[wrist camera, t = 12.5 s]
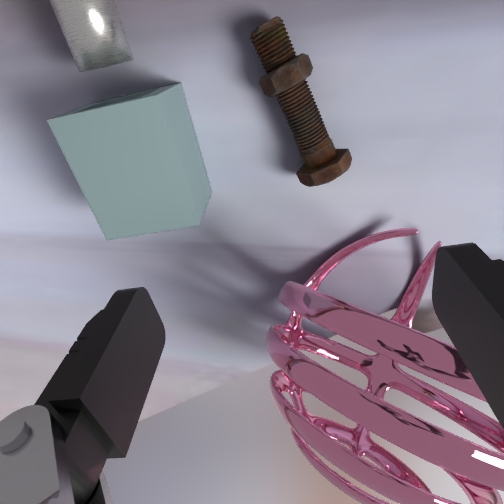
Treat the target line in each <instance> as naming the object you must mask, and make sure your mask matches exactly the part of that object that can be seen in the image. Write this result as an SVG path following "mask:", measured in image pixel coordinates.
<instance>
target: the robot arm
mask: <svg viewBox="0 0 504 504" xmlns="http://www.w3.org/2000/svg"><path fill="white" fill-rule="evenodd" d="M432 302H433V306H434V310H435V313H436V315H437V317H438V319H439V321H440V322H441V324H442V326H443V327H444V329H445V331H446V332H447V334H448V336H449V337H450V339H451V341H452V342H453V344H454V346H455V348H456V350H457V351H458V353H459V355H460V356H461V358H462V360H463V361H464V363H465V365H466V366H467V368H468V370H469V372H470V373H471V375H472V377H473V378H474V380H475V382H476V383H477V385H478V387H479V389H480V390H481V392H482V394H483V395H484V397H485V399H486V400H487V402H488V404H489V405H490V407H491V409H492V410H493V412H494V414H495V416H496V417H497V419H498V420H499V423H500V424H501V426H502V428H503V429H504V261H503V260H501V259H498V260H491V259H490V258H489V257H488V256H487V255H486V254H485V253H484V252H483V251H482V250H481V249H480V248H479V247H478V246H477V245H476V244H474V243H465V244H458V245H450V246H443V247H439V248H438V249H437V252H436V258H435V268H434V278H433V288H432ZM164 345H165V329H164V325H163V323H162V321H161V318H160V316H159V314H158V312H157V310H156V308H155V306H154V304H153V301H152V299H151V297H150V295H149V293H148V291H147V290H146V289H145V288H144V287H139V288H132V289H124V290H118V291H116V292H115V293H114V294H113V296H112V297H111V299H110V301H109V302H108V304H107V305H106V307H105V309H104V310H101V311H100V312H99V313H97V314H96V315H95V316H94V317H93V318H92V319H91V320H90V321H89V322H88V323H87V324H86V325H85V327H84V328H83V330H82V332H81V333H80V335H79V336H78V338H77V341H75V342H74V344H73V346H72V347H71V349H70V350H69V354H67V355H66V356H65V358H64V359H63V361H62V363H61V364H60V366H59V367H58V369H57V370H56V372H55V373H54V375H53V377H52V378H51V380H50V381H49V383H48V384H47V386H46V387H45V389H44V391H43V392H42V394H41V395H40V397H39V398H38V400H37V401H36V403H35V404H34V405H31V406H27V407H24V408H21V409H19V410H17V411H15V412H13V413H12V414H10V415H9V416H7V417H6V418H4V419H3V420H2V421H1V422H0V504H113V503H112V499H111V495H110V491H109V487H108V483H107V480H106V477H105V475H104V473H103V472H102V469H103V467H104V464H105V462H106V459H107V458H125V457H126V454H127V452H128V449H129V446H130V443H131V440H132V437H133V434H134V431H135V428H136V426H137V423H138V420H139V417H140V414H141V411H142V408H143V405H144V403H145V400H146V397H147V394H148V391H149V388H150V385H151V382H152V380H153V377H154V374H155V371H156V368H157V365H158V362H159V359H160V356H161V354H162V351H163V348H164Z"/></svg>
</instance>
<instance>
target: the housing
mask: <svg viewBox="0 0 504 504" xmlns="http://www.w3.org/2000/svg"><path fill="white" fill-rule="evenodd" d="M47 122H48V124H49V126H50V128H51V130H52V132H53V134H54V136H55V138H56V140H57V142H58V144H59V146H60V148H61V150H62V152H63V154H64V156H65V158H66V160H67V162H68V164H69V166H70V168H71V170H72V172H73V174H74V176H75V178H76V180H77V182H78V184H79V186H80V188H81V190H82V192H83V194H84V196H85V198H86V200H87V202H88V204H89V206H90V208H91V210H92V212H93V214H94V216H95V218H96V220H97V222H98V224H99V226H100V228H101V230H102V232H103V234H104V236H105V238H106V240H113V239H119V238H125V237H131V236H137V235H143V234H149V233H156V232H162V231H168V230H174V229H180V228H186V227H193V226H199V225H200V223H201V220H202V217H203V215H204V212H205V210H206V207H207V204H208V202H209V199H210V196H211V194H212V190H211V186H210V183H209V179H208V176H207V172H206V169H205V165H204V162H203V158H202V155H201V151H200V148H199V144H198V141H197V137H196V134H195V130H194V127H193V123H192V120H191V116H190V113H189V109H188V106H187V102H186V99H185V95H184V92H183V88H182V85H181V83H177V84H173V85H169V86H165V87H160V88H156V89H152V90H147V91H143V92H139V93H134V94H130V95H126V96H121V97H117V98H113V99H108V100H104V101H100V102H95V103H91V104H88V105H86V106H83V107H80V108H78V109H75V110H72V111H70V112H67V113H64V114H62V115H59V116H56V117H54V118H51V119H48V120H47Z"/></svg>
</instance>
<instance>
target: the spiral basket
mask: <svg viewBox="0 0 504 504" xmlns="http://www.w3.org/2000/svg"><path fill="white" fill-rule="evenodd" d="M417 232H418V230H417V229H414V228H402V229H394V230H389V231H384V232H380V233H376V234H373V235H370V236H367V237H364V238H362V239H359V240H357V241H355V242H353V243H351V244H349V245H347V246H346V247H344V248H342V249H341V250H339V251H338V252H336V253H335V254H333V255H332V256H331V257H330V258H328V259H327V260H326V261H325V262H324V263H323V264H322V265H321V266H320V267H319V268H318V269H317V270H316V271H315V272H314V273H313V274H312V276H311V277H310V278H309V279H308V280H307V281H306V282H305V283H304V284H303V285H301V284H298V283H296V282H293V281H287V282H286V283H285V284H284V285H283V287H282V288H281V290H280V293H279V295H278V301H279V302H280V303H281V304H282V305H284V306H285V307H287V308H289V309H290V310H291V314H290V317H289V319H288V321H287V323H286V324H283V325H281V324H273V325H271V326H270V327H269V329H268V332H267V337H266V348H267V352H268V354H269V356H270V357H271V359H272V360H273V361H274V363H275V364H276V365H277V366H278V367H279V368H280V369H281V370H278V371H275V372H274V373H273V374H272V375H271V377H270V389H271V394H272V397H273V400H274V403H275V405H276V407H277V409H278V410H279V412H280V414H281V415H282V417H283V418H284V419H285V421H286V422H287V423H288V424H289V426H290V429H291V433H292V436H293V439H294V441H295V443H296V445H297V446H298V448H299V449H300V451H301V452H302V454H303V455H304V456H305V458H306V459H307V460H308V461H309V462H310V463H311V465H313V467H314V468H315V469H316V470H317V471H318V472H319V473H320V474H321V475H323V476H324V477H325V478H326V479H327V480H328V481H330V482H331V483H332V484H333V485H335V486H336V487H337V488H339V489H340V490H342V491H343V492H344V493H346V494H347V495H349V496H350V497H352V498H353V499H355V500H357V501H359V502H360V503H362V504H392V503H389V502H386V501H384V500H381V499H379V498H377V497H375V496H373V495H371V494H369V493H367V492H366V491H364V490H362V489H360V488H359V487H357V486H355V485H353V484H352V483H351V482H349V481H348V480H346V479H345V478H343V477H342V476H340V475H339V474H338V473H336V472H335V471H334V470H333V469H331V468H330V467H329V466H328V465H326V464H325V463H324V462H323V461H322V460H321V459H320V458H319V457H318V456H317V455H316V454H315V453H314V452H313V451H312V450H311V448H310V447H309V445H310V446H311V447H312V448H313V449H314V450H316V451H317V452H318V453H319V454H321V455H322V456H323V457H325V458H326V459H327V460H328V461H330V462H331V463H332V464H334V465H335V466H337V467H338V468H339V469H341V470H343V471H344V472H345V473H347V474H348V475H350V476H351V477H353V478H354V479H356V480H357V481H359V482H361V483H362V484H364V485H366V486H367V487H369V488H371V489H373V490H374V491H376V492H378V493H379V494H381V495H383V496H385V497H387V498H389V499H391V500H393V501H395V502H397V503H399V504H460V503H457V502H454V501H451V500H448V499H445V498H442V497H440V496H437V495H435V494H432V492H431V491H430V489H429V488H428V487H427V485H426V484H425V483H424V482H423V481H422V479H421V478H420V477H419V476H418V475H417V474H416V473H415V472H414V471H413V470H411V469H410V468H409V467H408V466H407V465H406V464H405V463H403V462H402V461H401V460H400V459H398V458H397V457H396V456H395V455H393V454H392V453H390V452H389V451H388V450H386V449H385V448H383V447H382V446H380V445H379V444H377V443H376V442H375V441H373V440H372V438H371V437H370V431H371V432H373V433H375V434H376V435H378V436H380V437H382V438H384V439H385V440H387V441H389V442H391V443H393V444H395V445H397V446H398V447H400V448H402V449H404V450H406V451H408V452H410V453H412V454H414V455H416V456H418V457H420V458H422V459H424V460H426V461H429V462H431V463H433V464H435V465H437V466H439V467H441V468H443V469H444V470H445V471H446V472H447V473H448V474H449V475H450V476H451V477H452V478H453V479H454V480H455V481H456V482H457V483H458V484H459V486H460V487H461V488H462V489H463V491H464V492H465V493H466V495H467V496H468V498H469V500H470V503H471V504H503V502H502V498H501V496H500V494H499V493H498V491H497V490H496V489H498V490H501V491H504V429H503V428H502V426H501V424H500V423H499V422H497V421H496V420H494V419H492V418H491V417H489V416H487V415H486V414H484V413H482V412H480V411H479V410H477V409H475V408H473V407H471V406H469V405H468V404H466V403H464V402H462V401H460V400H458V399H456V398H455V397H453V396H451V395H449V394H447V393H445V392H443V391H441V390H439V389H437V388H435V387H433V386H431V385H429V384H427V383H425V382H423V381H421V380H419V379H417V378H415V377H413V376H411V375H409V374H407V373H405V372H404V371H403V370H401V369H400V367H399V365H398V363H400V364H402V365H404V366H407V367H408V368H411V369H413V370H415V371H417V372H420V373H422V374H424V375H426V376H428V377H431V378H433V379H435V380H437V381H440V382H442V383H444V384H446V385H449V386H451V387H453V388H455V389H458V390H460V391H463V392H465V393H467V394H469V395H472V396H474V397H476V398H479V399H481V400H483V401H486V402H487V400H486V399H485V397H484V395H483V394H482V392H481V390H480V389H479V387H478V385H477V383H476V382H475V380H474V378H473V377H472V375H471V373H470V372H469V370H468V368H467V366H466V365H465V363H464V361H463V360H462V358H461V356H460V355H459V353H458V351H457V350H456V348H455V346H453V345H451V344H448V343H446V342H443V341H441V340H438V339H436V338H433V337H431V336H429V335H426V334H424V333H421V332H419V331H416V330H414V329H412V322H413V319H414V316H415V314H416V311H417V308H418V306H419V303H420V301H421V298H422V295H423V293H424V290H425V288H426V285H427V282H428V280H429V277H430V275H431V272H432V269H433V267H434V264H435V258H436V252H437V249H438V248H439V247H441V241H438V242H437V243H436V244H435V245H434V246H433V247H432V249H431V250H430V251H429V253H428V254H427V256H426V257H425V259H424V260H423V262H422V263H421V265H420V267H419V268H418V270H417V272H416V273H415V275H414V277H413V279H412V280H411V282H410V284H409V286H408V288H407V290H406V292H405V294H404V296H403V298H402V300H401V302H400V304H399V306H398V309H397V311H396V313H395V315H394V316H393V318H391V319H390V320H389V319H387V318H384V317H382V316H380V315H377V314H375V313H372V312H370V311H367V310H365V309H362V308H360V307H357V306H355V305H352V304H350V303H347V302H345V301H342V300H340V299H337V298H335V297H332V296H330V295H327V294H324V293H322V292H319V291H318V287H319V285H320V284H321V282H322V281H323V279H324V278H325V277H326V276H327V275H328V274H329V273H330V272H331V271H332V270H333V269H334V268H335V267H336V266H337V265H338V264H339V263H340V262H342V261H343V260H344V259H346V258H347V257H348V256H350V255H351V254H353V253H355V252H356V251H358V250H360V249H362V248H364V247H366V246H368V245H371V244H373V243H376V242H379V241H382V240H386V239H390V238H395V237H401V236H408V235H413V234H416V233H417ZM303 317H305V318H307V319H309V320H311V321H312V322H314V323H316V324H318V325H320V326H322V327H324V328H326V329H328V330H330V331H332V332H334V333H336V334H338V335H340V336H343V337H345V338H347V339H349V340H351V341H353V342H355V343H357V344H359V345H361V346H363V347H366V348H368V349H370V350H372V351H374V352H376V353H377V354H376V355H373V356H370V355H366V354H364V353H361V352H359V351H357V350H354V349H352V348H349V347H347V346H345V345H342V344H340V343H337V342H335V341H332V340H330V339H327V338H325V337H322V336H319V335H316V334H314V333H311V332H308V331H306V330H304V329H303V327H302V320H303ZM299 350H305V351H309V352H312V353H315V354H318V355H321V356H323V357H326V358H329V359H332V360H334V361H337V362H339V363H341V364H344V365H346V366H349V367H351V368H353V369H356V370H358V371H360V372H361V373H363V374H365V376H366V377H367V379H368V385H367V388H366V389H365V390H363V389H362V388H360V387H358V386H356V385H354V384H352V383H351V382H349V381H347V380H345V379H343V378H342V377H340V376H338V375H336V374H335V373H333V372H331V371H330V370H328V369H326V368H325V367H323V366H321V365H320V364H318V363H316V362H315V361H313V360H311V359H310V358H308V357H307V356H305V355H304V354H302V353H301V352H299ZM389 389H396V390H399V391H401V392H403V393H405V394H407V395H409V396H411V397H413V398H415V399H416V400H418V401H420V402H422V403H424V404H425V405H427V406H429V407H431V408H432V409H434V410H436V411H438V412H439V413H441V414H443V415H445V416H446V417H448V418H449V419H451V420H453V421H455V422H456V423H458V424H459V425H461V426H462V427H464V428H466V429H467V430H469V431H470V432H472V433H473V434H475V435H476V436H478V437H479V438H481V439H482V440H484V441H485V442H487V443H488V444H490V445H491V446H493V447H494V448H495V449H496V450H498V451H499V452H500V453H502V454H500V453H498V452H495V451H492V450H490V449H487V448H485V447H483V446H480V445H478V444H475V443H473V442H471V441H468V440H466V439H464V438H462V437H459V436H457V435H455V434H452V433H450V432H448V431H446V430H444V429H442V428H439V427H437V426H435V425H433V424H431V423H428V422H427V421H424V420H422V419H420V418H418V417H416V416H414V415H412V414H410V413H408V412H406V411H403V410H402V409H400V408H398V407H396V406H394V405H392V404H390V403H388V402H386V401H384V395H385V393H386V391H387V390H389ZM284 392H288V393H289V395H290V396H291V399H292V401H293V404H294V407H295V408H294V407H293V406H292V405H291V404H290V403H289V402H288V400H287V399H286V398H285V397H284V396H283V393H284ZM303 392H307V393H311V394H312V395H314V396H315V397H317V398H318V399H319V400H321V401H323V402H324V403H325V404H327V405H328V406H330V407H331V408H333V409H335V410H336V411H338V412H339V413H341V414H342V415H344V416H346V417H347V418H349V419H351V420H352V421H354V422H356V423H357V425H356V427H355V428H349V427H347V426H345V425H342V424H340V423H337V422H335V421H333V420H330V419H327V418H324V417H320V416H315V415H311V414H310V413H309V412H308V411H307V409H306V407H305V405H304V402H303V398H302V393H303ZM337 441H338V442H337ZM339 442H341V443H343V444H345V445H347V446H348V447H349V448H350V449H351V450H349V449H348V448H346V447H345V446H343V445H342V444H340V443H339ZM308 444H309V445H308ZM361 456H366V457H368V458H369V459H371V460H372V461H373V462H375V463H376V464H377V465H379V466H380V467H381V468H382V469H381V468H379V467H377V466H375V465H374V464H372V463H370V462H369V461H367V460H365V459H364V458H362V457H361ZM383 469H384V470H383Z"/></svg>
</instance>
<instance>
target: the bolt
mask: <svg viewBox="0 0 504 504" xmlns="http://www.w3.org/2000/svg"><path fill="white" fill-rule="evenodd" d="M282 23H283V20H281V19H280V17H275V18H273V19H271V20H269V21H268V22H266V23H264V24H263V25H261V26H259V27H258V28H256V30H254V31H253V32H252V34H251V37H250V39H253V40H252V43H254V46H255V47H256V49H255V50H257V51H258V52H257V54H259V58H261V60H260V61H261V62H263V63H262V65H264V69H266V71H265V72H266V73H267V74H265V75H264V76H262V77H261V80H260V86H261V88H262V90H263V92H264V94H265V95H267V96H269V97H272V96H275V95H276V97H278V100H279V101H280V102H279V104H281V106H280V107H283V108H282V111H284V112H283V114H286V115H285V117H287V119H286V120H288V124H289V127H291V128H290V129H291V130H292V133H294V134H293V136H295V137H294V138H295V139H296V142H298V143H297V145H298V148H300V152H301V157H302V159H303V161H304V163H305V164H304V165H303V166H302V167H301V168H300V170H299V171H298V172H297V173H296V174H297V176H298V178H299V180H300V182H301V183H302V184H304V185H306V186H309V187H311V186H318V185H322V184H325V183H328V182H330V181H332V180H334V179H336V178H337V177H339V176H341V175H342V174H343V173H344V172H346V171H347V170H348V169H349V167H350V165H351V161H352V157H351V154H350V152H349V149H335V147H334V145H333V142H332V140H331V139H330V137H329V135H328V134H327V131H326V128H325V125H324V124H323V123H324V122H323V121H322V118H320V117H321V115H320V114H319V113H320V112H319V111H318V108H317V105H315V104H316V102H314V98H312V97H313V95H311V93H312V92H311V91H310V88H308V86H309V85H307V81H305V80H306V78H307V77H308V76H310V75H311V72H312V69H313V66H312V64H311V61H310V58H309V56H308V55H306V54H303V53H302V54H300V55H298V56H296V55H295V53H296V52H294V48H292V45H293V44H290V43H291V40H289V37H290V36H287V35H288V32H286V28H284V26H285V24H282Z"/></svg>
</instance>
